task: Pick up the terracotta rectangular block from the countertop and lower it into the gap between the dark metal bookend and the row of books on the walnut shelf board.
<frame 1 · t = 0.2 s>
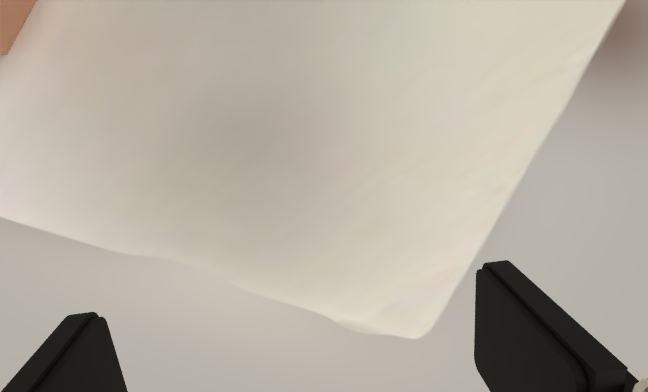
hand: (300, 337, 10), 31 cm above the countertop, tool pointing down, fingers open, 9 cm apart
terracotta rectangular block: (5, 5, 35), on the countertop
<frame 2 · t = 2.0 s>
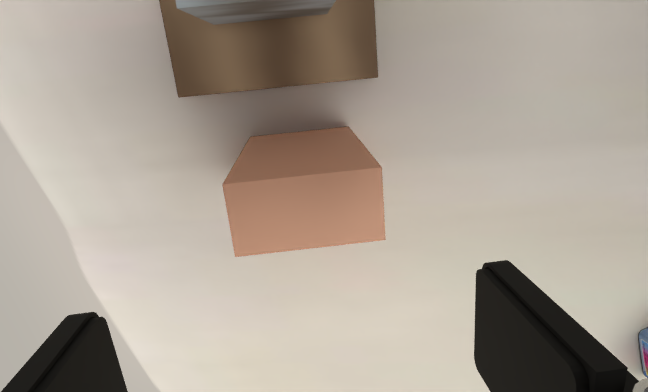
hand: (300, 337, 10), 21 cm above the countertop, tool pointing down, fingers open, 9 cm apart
terracotta rectangular block: (302, 155, 30), on the countertop
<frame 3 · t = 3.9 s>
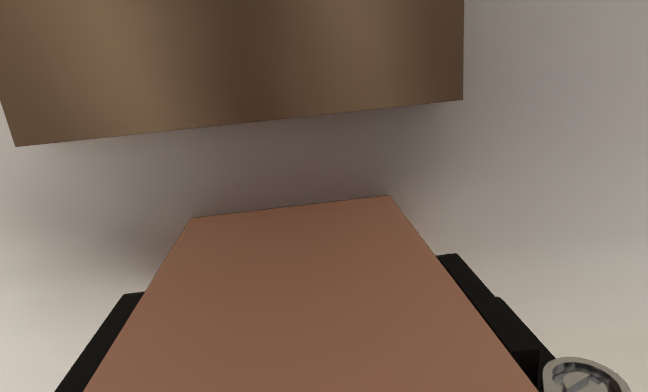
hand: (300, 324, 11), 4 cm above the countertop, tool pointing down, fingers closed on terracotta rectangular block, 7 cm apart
terracotta rectangular block: (296, 251, 15), on the countertop, touching gripper
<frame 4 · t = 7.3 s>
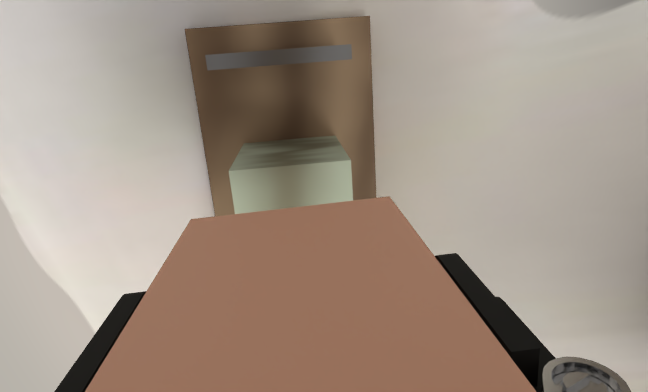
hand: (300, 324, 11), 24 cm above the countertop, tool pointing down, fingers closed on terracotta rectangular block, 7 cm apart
walnut shelf: (294, 180, 35), on the countertop
terracotta rectangular block: (296, 252, 15), point 19 cm above the countertop, touching gripper
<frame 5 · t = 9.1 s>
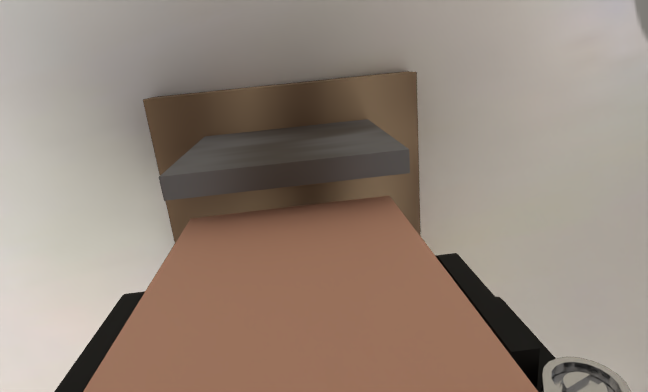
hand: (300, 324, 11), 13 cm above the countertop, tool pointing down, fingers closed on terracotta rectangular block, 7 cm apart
walnut shelf: (307, 290, 25), on the countertop
terracotta rectangular block: (296, 251, 15), point 8 cm above the countertop, touching gripper
when the fingers open (7 cm above the countertop, at t = 10.7 s): terracotta rectangular block drops 1 cm, resting on walnut shelf.
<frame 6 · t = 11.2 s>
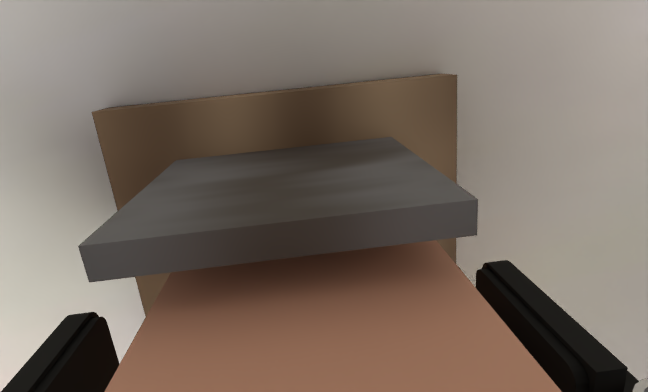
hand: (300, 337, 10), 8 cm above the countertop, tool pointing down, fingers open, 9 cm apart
walnut shelf: (310, 347, 20), on the countertop
terracotta rectangular block: (304, 236, 17), point 1 cm above the countertop, touching walnut shelf
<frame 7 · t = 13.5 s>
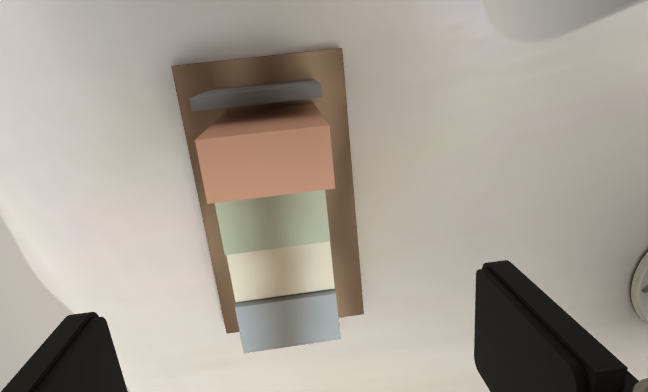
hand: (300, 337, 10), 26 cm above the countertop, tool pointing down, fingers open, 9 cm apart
walnut shelf: (278, 199, 37), on the countertop
terracotta rectangular block: (272, 129, 34), point 1 cm above the countertop, touching walnut shelf
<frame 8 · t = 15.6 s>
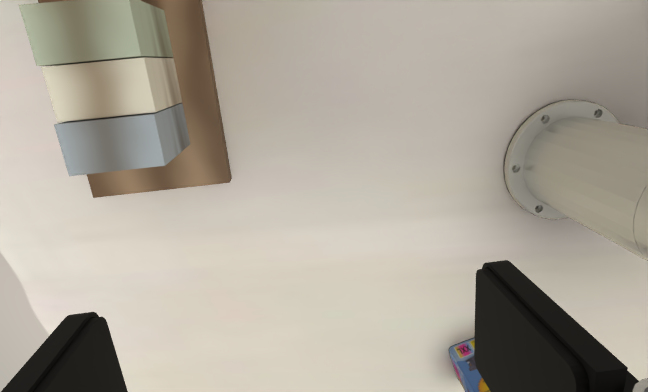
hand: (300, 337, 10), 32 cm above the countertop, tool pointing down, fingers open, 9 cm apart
walnut shelf: (138, 59, 38), on the countertop
ink cartridge box: (488, 347, 51), on the countertop
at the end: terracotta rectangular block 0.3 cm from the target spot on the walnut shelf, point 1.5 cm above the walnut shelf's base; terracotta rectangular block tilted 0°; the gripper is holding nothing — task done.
